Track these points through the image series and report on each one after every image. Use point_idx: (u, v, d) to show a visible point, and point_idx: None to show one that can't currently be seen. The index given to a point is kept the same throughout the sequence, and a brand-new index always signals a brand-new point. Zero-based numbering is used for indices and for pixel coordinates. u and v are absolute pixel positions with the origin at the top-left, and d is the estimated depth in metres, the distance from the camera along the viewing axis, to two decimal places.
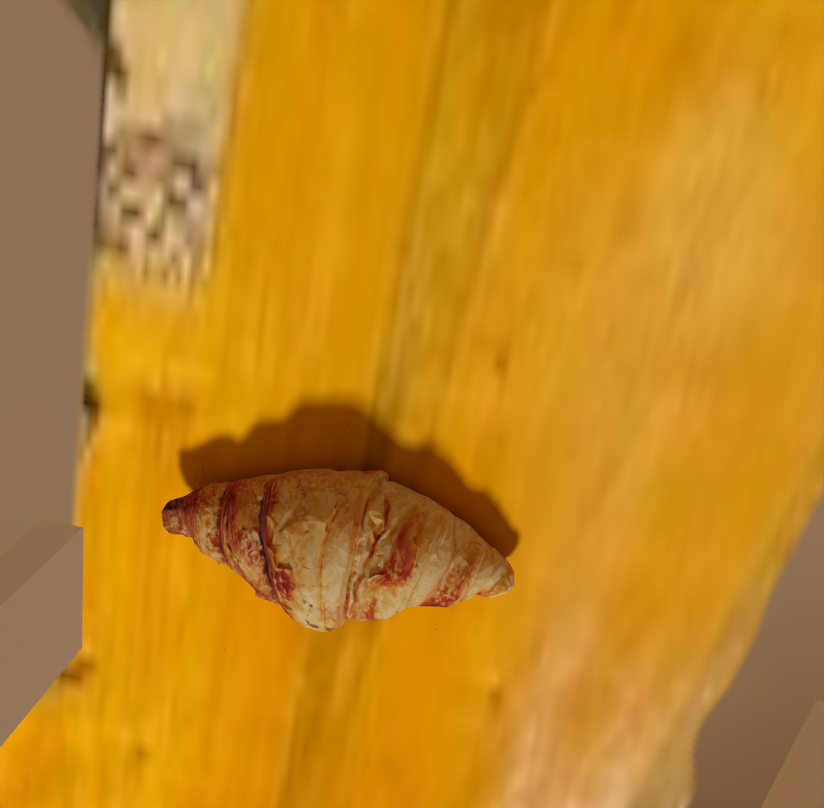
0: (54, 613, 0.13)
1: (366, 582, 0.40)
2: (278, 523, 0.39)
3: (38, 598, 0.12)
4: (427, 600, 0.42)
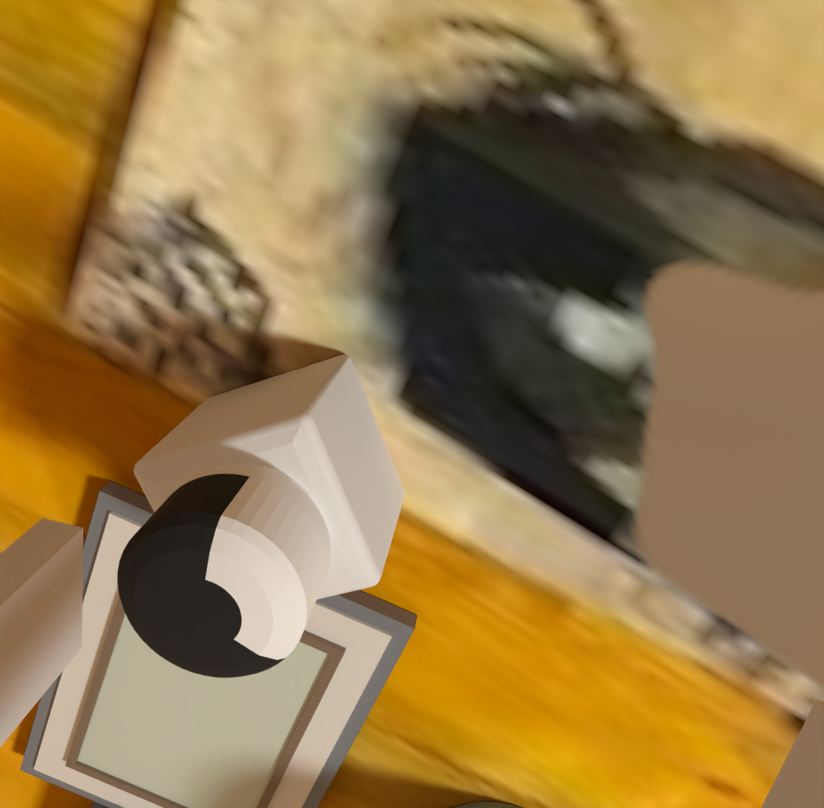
0: (54, 613, 0.13)
1: None
2: None
3: (38, 598, 0.12)
4: None
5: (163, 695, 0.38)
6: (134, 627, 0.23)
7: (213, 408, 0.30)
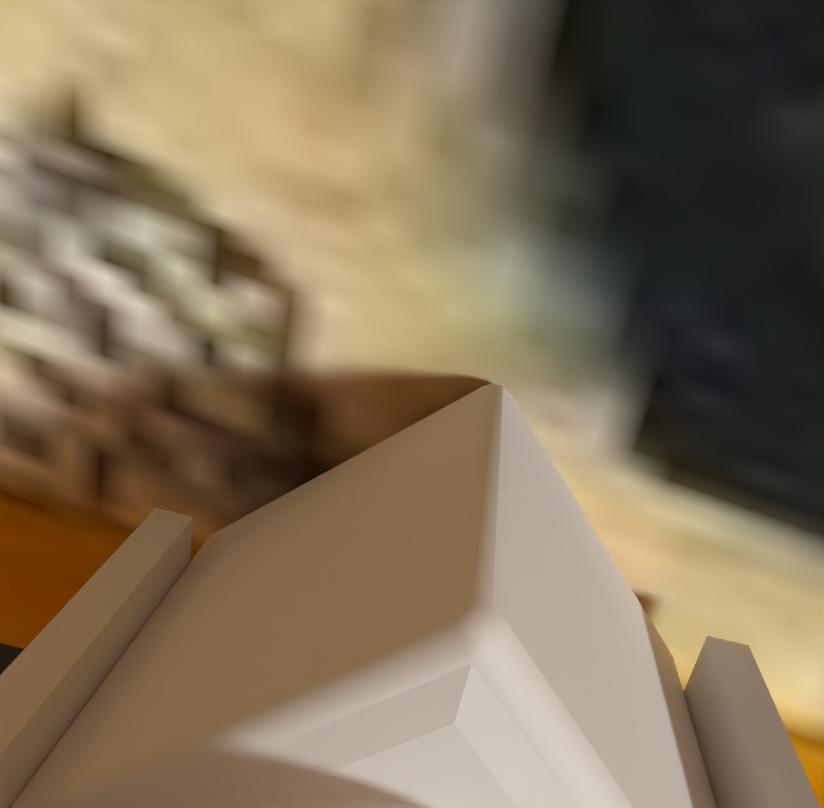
0: None
1: None
2: None
3: (161, 581, 0.13)
4: None
5: None
6: None
7: (216, 572, 0.13)
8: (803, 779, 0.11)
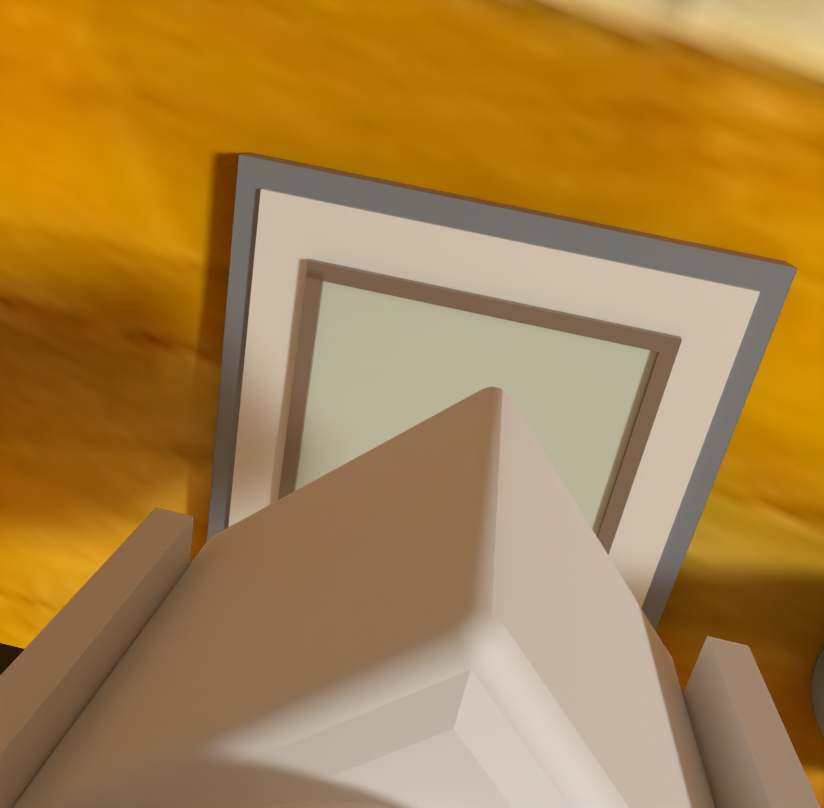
0: None
1: None
2: None
3: (161, 581, 0.13)
4: None
5: None
6: None
7: (215, 575, 0.13)
8: (803, 779, 0.11)
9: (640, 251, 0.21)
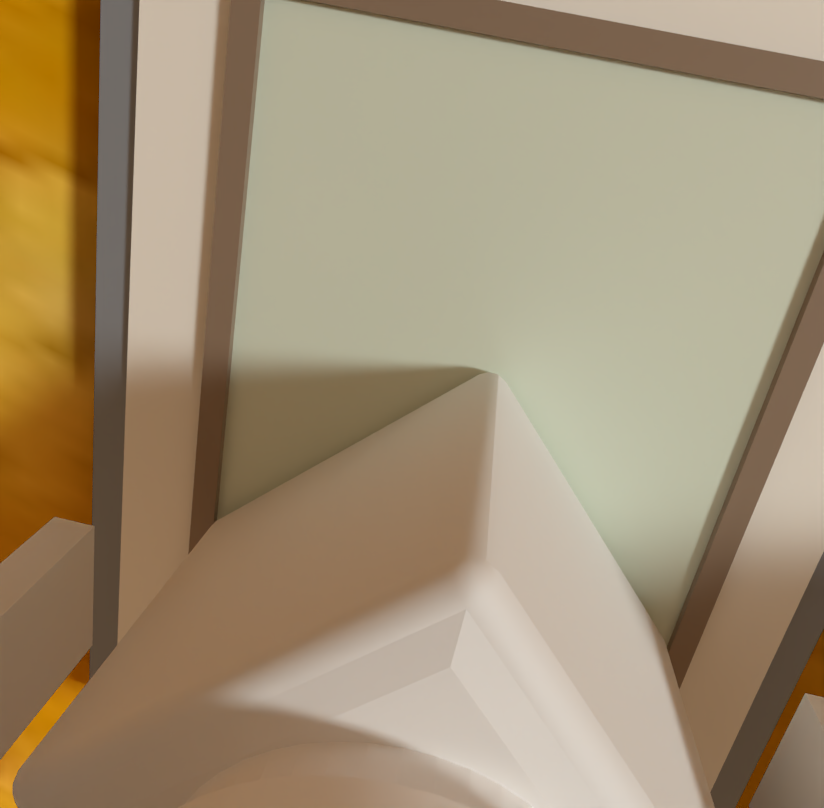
0: (66, 611, 0.13)
1: None
2: None
3: (51, 596, 0.12)
4: None
5: (381, 418, 0.15)
6: None
7: (220, 552, 0.13)
8: None
9: None
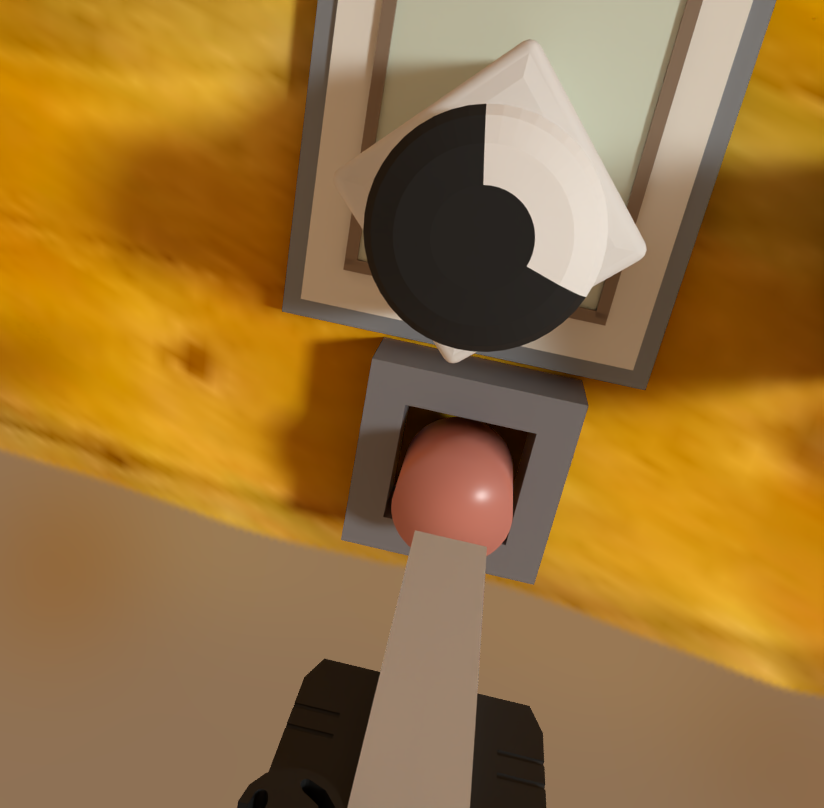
0: None
1: None
2: None
3: None
4: None
5: None
6: (395, 297, 0.19)
7: None
8: (476, 642, 0.12)
9: None
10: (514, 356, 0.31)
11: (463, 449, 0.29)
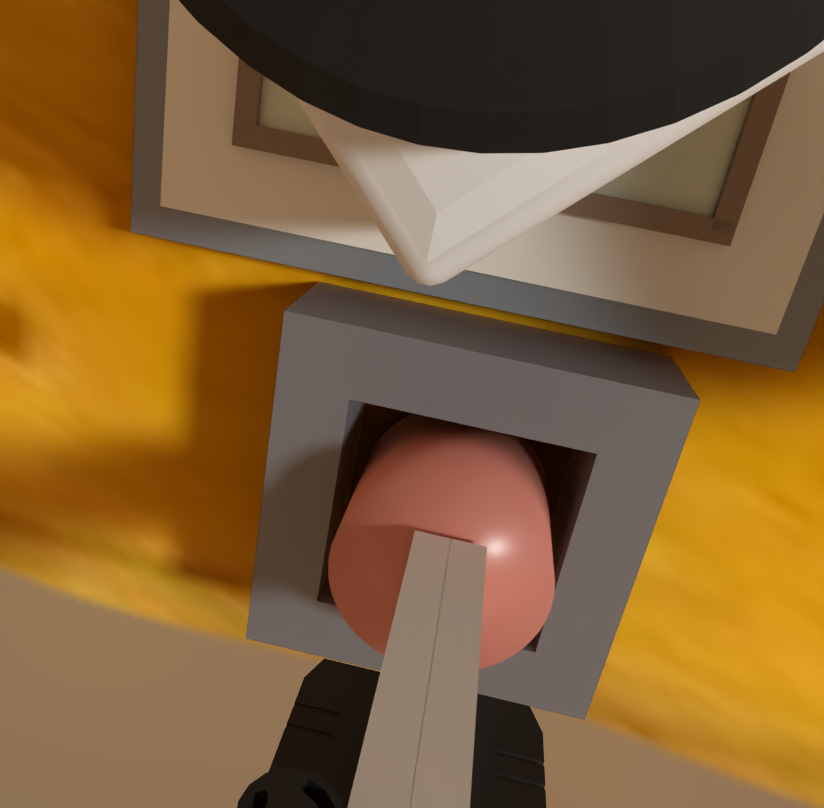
0: None
1: None
2: None
3: None
4: None
5: None
6: None
7: None
8: (475, 642, 0.12)
9: None
10: (552, 311, 0.17)
11: (461, 463, 0.15)
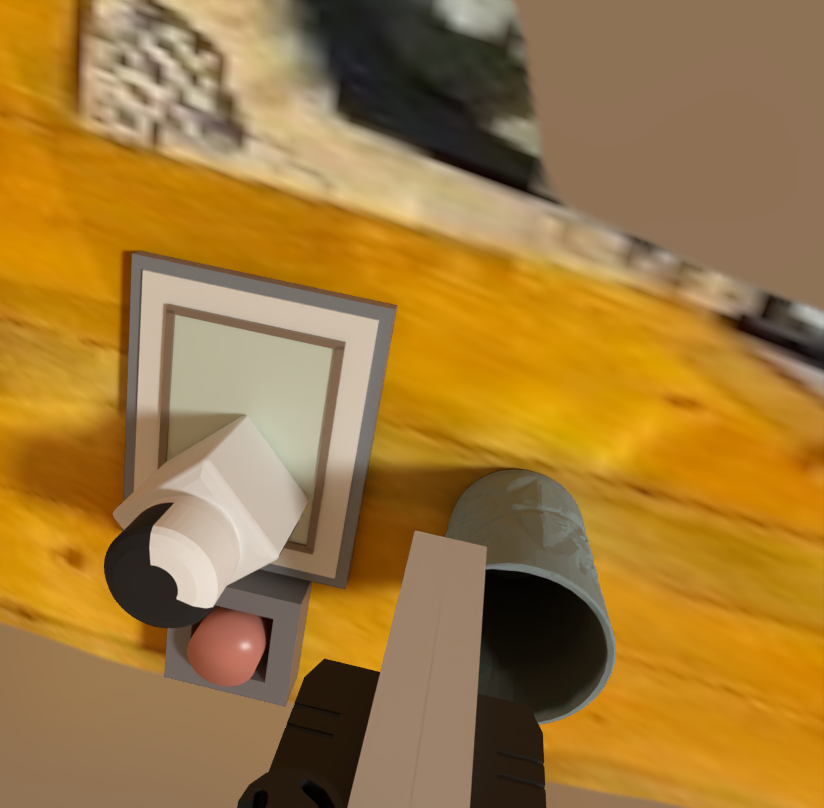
0: None
1: None
2: None
3: None
4: None
5: (216, 429, 0.47)
6: (120, 605, 0.38)
7: (164, 468, 0.45)
8: (475, 642, 0.12)
9: (323, 301, 0.43)
10: (264, 567, 0.50)
11: (227, 621, 0.49)
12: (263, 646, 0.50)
